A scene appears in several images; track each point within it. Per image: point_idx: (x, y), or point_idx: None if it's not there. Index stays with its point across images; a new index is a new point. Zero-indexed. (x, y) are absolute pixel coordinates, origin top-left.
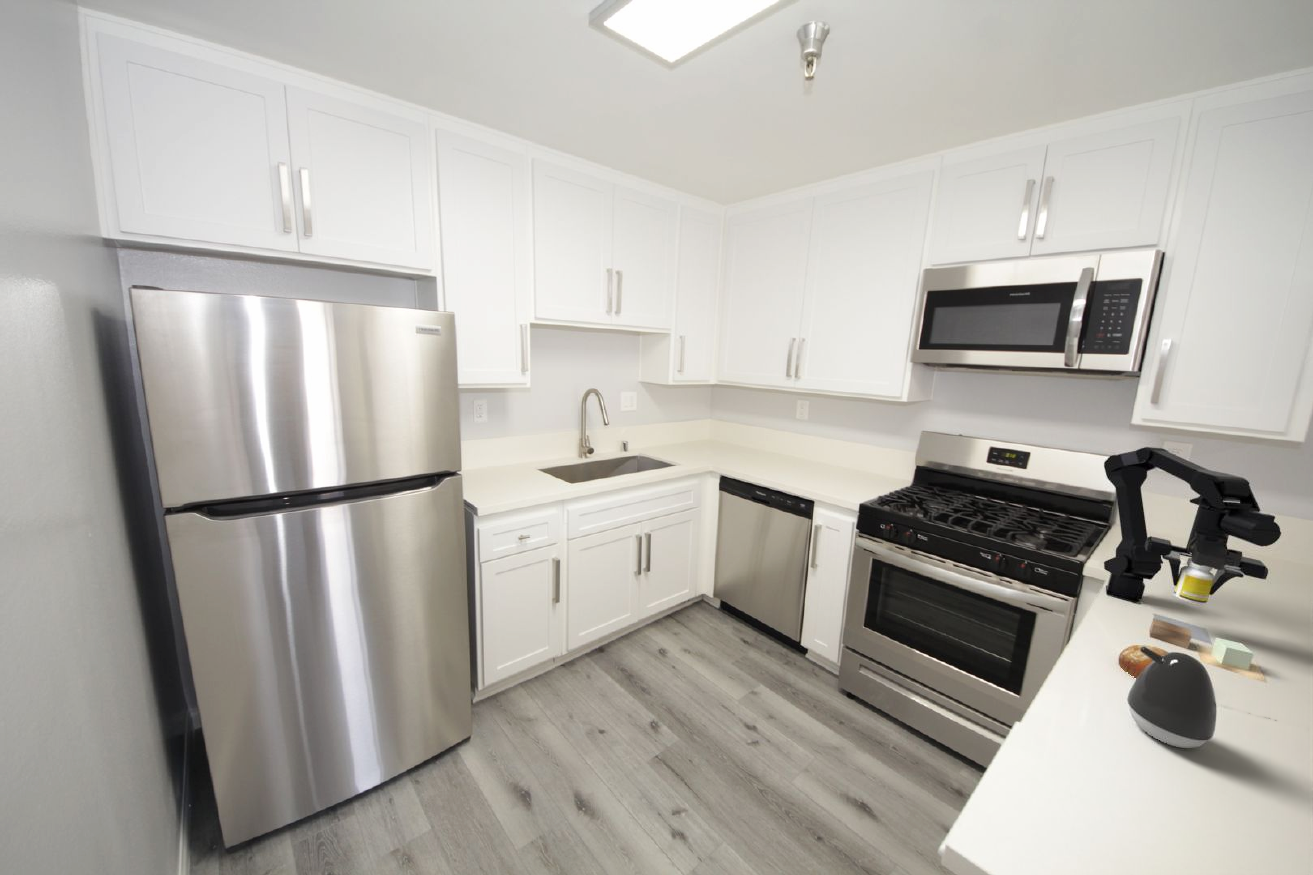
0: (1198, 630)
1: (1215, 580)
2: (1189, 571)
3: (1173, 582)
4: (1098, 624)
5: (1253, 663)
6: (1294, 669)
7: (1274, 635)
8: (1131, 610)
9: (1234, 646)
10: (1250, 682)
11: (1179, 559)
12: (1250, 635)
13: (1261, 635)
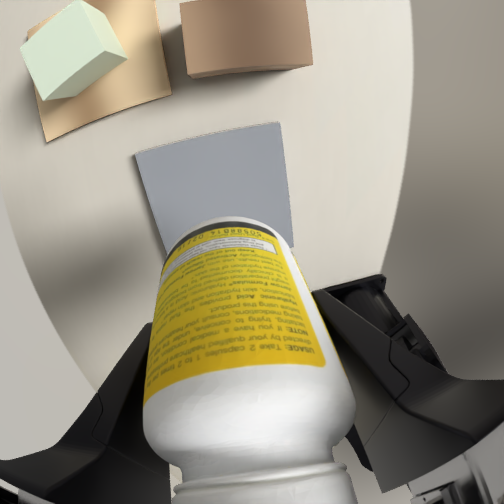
0: (181, 234)
1: (141, 418)
2: (320, 405)
3: (333, 299)
4: (398, 15)
5: (48, 125)
6: (17, 219)
7: (104, 364)
8: (339, 222)
9: (58, 38)
10: (56, 4)
11: (443, 463)
12: (117, 332)
13: (110, 348)
